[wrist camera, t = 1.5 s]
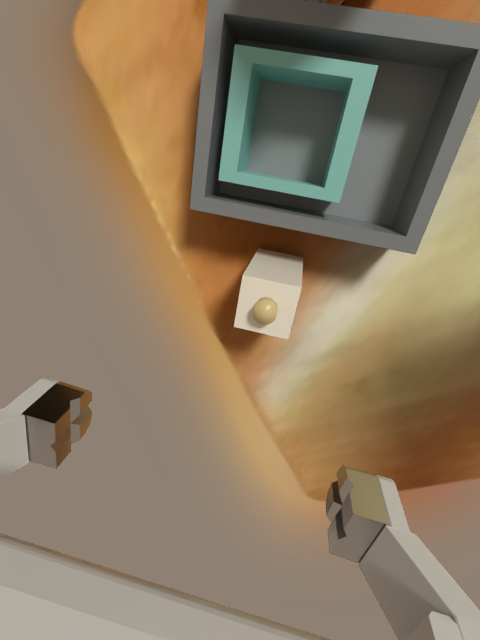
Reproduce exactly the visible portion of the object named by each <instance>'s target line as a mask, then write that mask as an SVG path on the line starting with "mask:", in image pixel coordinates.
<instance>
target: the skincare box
mask: <svg viewBox="0 0 480 640" xmlns="http://www.w3.org/2000/svg"><path fill="white" fill-rule="evenodd" d="M307 1H312V2H319V3H327V4H334V5H340V4H341V3H343V2H344V1H345V0H307Z"/></svg>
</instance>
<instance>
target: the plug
mask: <svg viewBox="0 0 480 640" xmlns="http://www.w3.org/2000/svg"><path fill="white" fill-rule="evenodd" d="M302 273H303V257H299V256H294V255H290V254H285V253H280V252H275V251H270V250H266V249H261V248H258V250H257V252H256V253H255V255H254V257H253V258H252V260H251V262H250V263H249V265H248V267H247V268H246V270H245V272H244V273H243V276H242V282H241V288H240V293H239V299H238V305H237V311H236V317H235V322H234V327H237V328H241V329H245V330H250V331H254V332H258V333H262V334H267V335H271V336H275V337H279V338H284V339H288V338H289V334H290V330H291V327H292V323H293V319H294V315H295V311H296V308H297V304H298V300H299V296H300V292H301V289H302Z"/></svg>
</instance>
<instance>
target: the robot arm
mask: <svg viewBox="0 0 480 640" xmlns="http://www.w3.org/2000/svg"><path fill="white" fill-rule="evenodd" d="M91 401H92V392H90V391H89V390H86V389H83V388H79V387H77V386H73V385H70V384H67V383H64V382H60V381H57V380H54V379H51V378H48V377H45V378H42V379H40V380H39V381H38V382H36V383H35V384H34V385H32V386H31V387H30V388H29V389H27V390H26V391H25V392H24V393H23V394H21V395H20V396H19V397H18V398H16V399H15V400H14V401H13V402H11V403H10V404H9V405H8V406H6V407H5V408H4V409H1V408H0V478H2V477H4V476H6V475H7V474H9V473H11V472H13V471H15V470H17V469H19V468H20V467H22V466H24V465H26V464H27V463H29V461H31V462H35V463H38V464H42V465H45V466H49V467H53V468H56V469H57V467H58V466H59V465H60V464H61V463H62V461H63V460H64V459H65V458H66V456H67V455H68V454H69V453H70V452H71V444H72V443H74V442H77V441H79V440H80V439H81V438H82V437H83V435H84V434H85V432H86V430H87V428H88V427H89V425H90V421H91V417H92V411H91V409H90V408H89V406H88V405H89V403H90V402H91ZM337 478H338V480H337V481H335V482H333V483H332V484H331V486H330V488H329V490H328V494H327V499H326V515H327V517H328V518H329V520H330V521H331V525H330V527H329V529H328V539H329V551H330V553H331V554H333V555H336V556H339V557H342V558H346V559H348V560H351V561H354V562H357V563H359V566H360V568H361V570H362V572H363V574H364V576H365V578H366V580H367V582H368V583H369V585H370V587H371V589H372V591H373V593H374V595H375V596H376V598H377V600H378V602H379V604H380V606H381V608H382V610H383V611H384V613H385V615H386V617H387V619H388V621H389V623H390V624H391V626H392V628H393V630H394V632H395V634H396V636H397V638H398V639H399V640H480V611H479V610H478V608H477V607H476V606H475V605H474V604H473V603H472V601H471V600H470V599H469V598H468V596H467V595H466V594H465V593H464V592H463V590H462V589H461V588H460V587H459V586H458V584H457V583H456V582H455V581H454V579H453V578H452V577H451V576H450V575H449V573H448V572H447V571H446V570H445V569H444V568H443V566H442V565H441V564H440V563H439V562H438V560H437V559H436V558H435V557H434V556H433V554H432V553H431V552H430V551H429V549H428V548H427V547H426V546H425V545H424V544H423V542H422V541H421V540H420V539H419V537H418V536H417V535H416V534H414V533H411V532H410V529H409V526H408V523H407V519H406V516H405V513H404V510H403V507H402V504H401V500H400V497H399V494H398V491H397V488H396V485H395V482H394V481H393V480H392V479H390V478H386V477H383V476H379V475H374V474H372V473H368V472H365V471H361V470H358V469H354V468H351V467H347V466H344V465H343V466H341V467H340V469H339V470H338V472H337ZM0 640H329V639H326V638H323V637H320V636H317V635H314V634H311V633H308V632H305V631H302V630H298V629H295V628H292V627H289V626H286V625H283V624H280V623H277V622H274V621H271V620H268V619H265V618H262V617H259V616H255V615H252V614H249V613H246V612H243V611H240V610H237V609H234V608H231V607H227V606H225V605H221V604H218V603H215V602H212V601H209V600H206V599H203V598H200V597H197V596H194V595H191V594H188V593H184V592H181V591H178V590H175V589H172V588H169V587H166V586H163V585H159V584H156V583H153V582H150V581H147V580H144V579H141V578H138V577H135V576H132V575H129V574H125V573H122V572H119V571H116V570H113V569H110V568H107V567H103V566H101V565H98V564H94V563H91V562H88V561H85V560H82V559H79V558H76V557H73V556H70V555H67V554H63V553H60V552H57V551H54V550H51V549H48V548H45V547H42V546H39V545H36V544H33V543H29V542H26V541H23V540H20V539H17V538H14V537H11V536H8V535H5V534H2V533H0Z"/></svg>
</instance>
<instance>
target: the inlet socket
mask: <svg viewBox="0 0 480 640" xmlns="http://www.w3.org/2000/svg"><path fill="white" fill-rule="evenodd" d="M377 69H378V65H371V64H365V63H358V62H351V61H345V60H338V59H331V58H324V57H318V56H311V55H304V54H297V53H291V52H284V51H277V50H271V49H264V48H257V47H250V46H244V45H237V44H235V47H234V55H233V63H232V72H231V80H230V88H229V96H228V105H227V113H226V121H225V129H224V138H223V146H222V154H221V162H220V170H219V179H218V180H220V181H225V182H231V183H236V184H241V185H246V186H252V187H257V188H262V189H267V190H273V191H278V192H283V193H288V194H294V195H299V196H304V197H309V198H315V199H320V200H325V201H330V202H336V203H340V199H341V196H342V192H343V189H344V185H345V182H346V178H347V175H348V171H349V168H350V164H351V161H352V157H353V154H354V150H355V147H356V143H357V140H358V136H359V133H360V129H361V125H362V122H363V118H364V115H365V111H366V108H367V104H368V101H369V97H370V94H371V90H372V87H373V83H374V80H375V76H376V73H377ZM261 79H266V80H273V81H279V82H285V83H292V84H298V85H304V86H311V87H317V88H323V89H330V90H336V91H342V92H346V94H345V98H344V102H343V106H342V110H341V113H340V117H339V121H338V125H337V129H336V133H335V137H334V141H333V145H332V149H331V153H330V157H329V161H328V164H327V168H326V172H325V176H324V180H323V184H322V185H320V184H315V183H310V182H304V181H299V180H293V179H288V178H283V177H277V176H272V175H267V174H261V173H256V172H250V171H247V165H248V158H249V152H250V145H251V139H252V133H253V126H254V120H255V113H256V107H257V100H258V94H259V88H260V81H261Z"/></svg>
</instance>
